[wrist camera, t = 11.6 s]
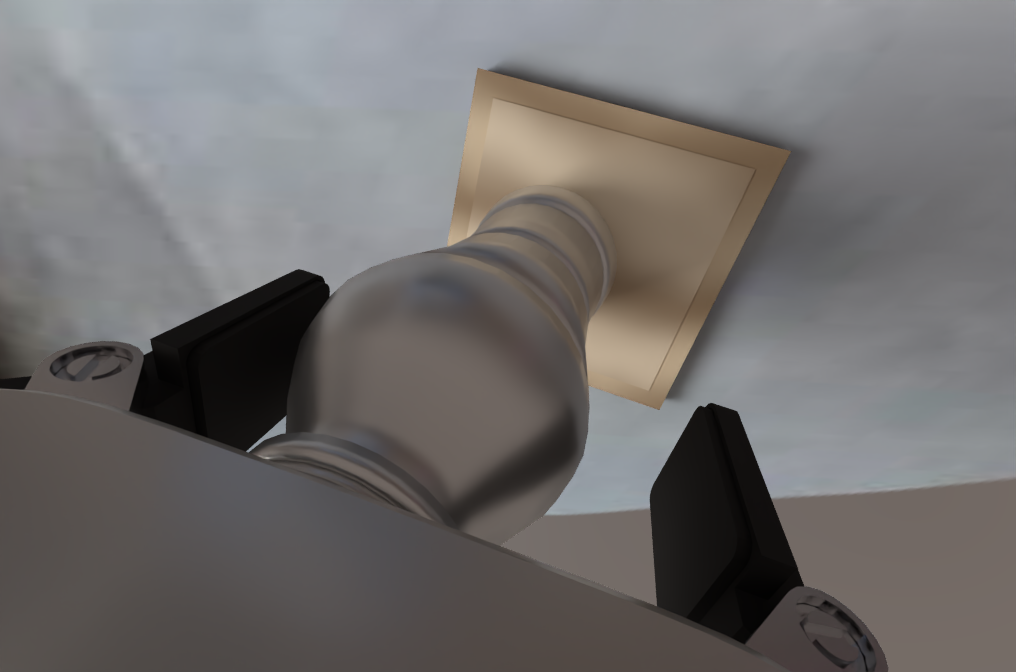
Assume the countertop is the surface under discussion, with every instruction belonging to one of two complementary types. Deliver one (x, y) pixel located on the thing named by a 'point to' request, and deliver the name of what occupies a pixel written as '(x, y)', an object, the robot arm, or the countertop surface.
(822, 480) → the countertop surface
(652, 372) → the oak board
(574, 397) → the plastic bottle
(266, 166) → the countertop surface
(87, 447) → the robot arm
